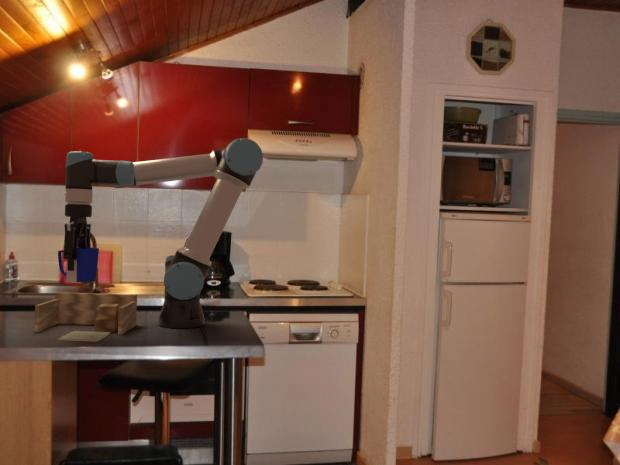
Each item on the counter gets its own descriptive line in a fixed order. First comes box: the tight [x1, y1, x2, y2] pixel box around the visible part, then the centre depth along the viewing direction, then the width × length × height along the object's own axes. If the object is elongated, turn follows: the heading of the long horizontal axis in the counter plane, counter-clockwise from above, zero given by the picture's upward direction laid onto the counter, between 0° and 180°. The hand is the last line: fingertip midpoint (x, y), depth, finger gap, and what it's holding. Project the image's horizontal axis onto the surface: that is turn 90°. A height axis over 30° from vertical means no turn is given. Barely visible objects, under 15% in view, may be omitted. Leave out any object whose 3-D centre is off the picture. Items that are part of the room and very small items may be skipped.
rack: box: [34, 291, 138, 335], centre depth 183 cm, size 26×16×10 cm, turn 91°
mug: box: [57, 247, 100, 283], centre depth 175 cm, size 8×12×10 cm
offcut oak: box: [98, 304, 119, 320], centre depth 182 cm, size 5×6×4 cm
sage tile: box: [57, 330, 111, 343], centre depth 170 cm, size 11×11×1 cm
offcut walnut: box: [94, 318, 118, 333], centre depth 182 cm, size 6×7×4 cm
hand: (77, 280), depth 175 cm, fingers closed on mug, 7 cm apart
